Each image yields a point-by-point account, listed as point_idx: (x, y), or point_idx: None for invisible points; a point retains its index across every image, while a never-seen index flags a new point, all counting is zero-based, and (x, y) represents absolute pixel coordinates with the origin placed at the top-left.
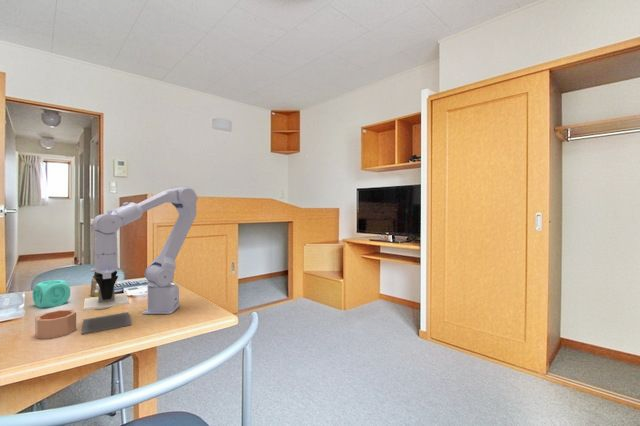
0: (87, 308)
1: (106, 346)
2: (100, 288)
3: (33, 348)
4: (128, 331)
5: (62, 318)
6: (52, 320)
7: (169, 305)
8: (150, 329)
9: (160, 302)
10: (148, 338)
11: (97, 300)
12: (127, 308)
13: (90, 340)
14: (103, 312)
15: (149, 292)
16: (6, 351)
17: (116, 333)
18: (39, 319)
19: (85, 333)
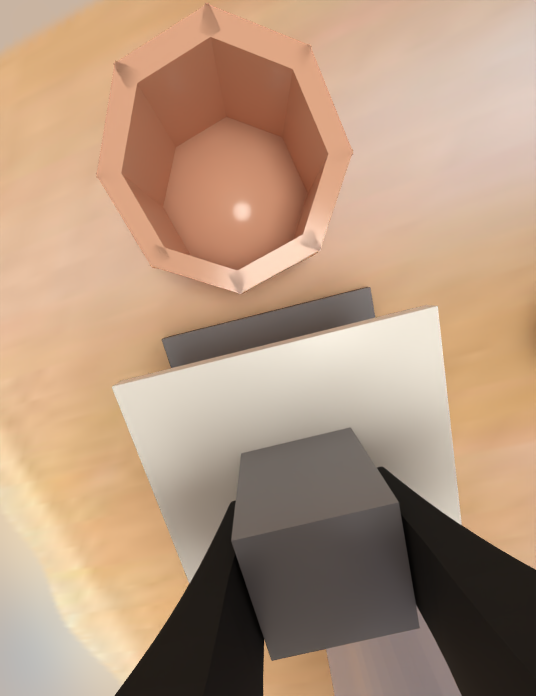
0: (121, 410)
1: (8, 467)
2: (160, 631)
3: (39, 174)
4: (152, 509)
5: (137, 240)
6: (104, 184)
7: (333, 662)
8: (151, 577)
9: (350, 653)
10: (59, 583)
11: (326, 425)
12: (485, 447)
13: (85, 394)
14: (474, 349)
15: (405, 691)
16: (24, 45)
17: (141, 472)
18: (141, 67)
19: (169, 352)
